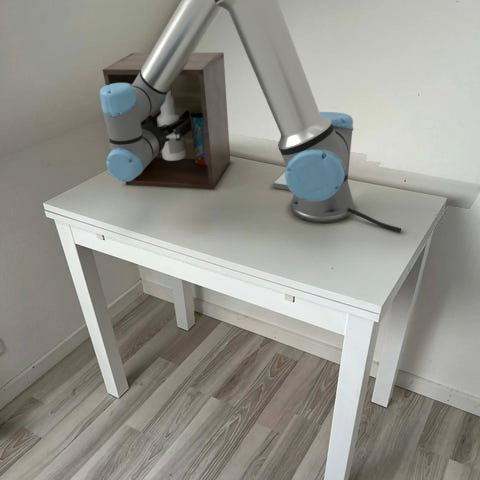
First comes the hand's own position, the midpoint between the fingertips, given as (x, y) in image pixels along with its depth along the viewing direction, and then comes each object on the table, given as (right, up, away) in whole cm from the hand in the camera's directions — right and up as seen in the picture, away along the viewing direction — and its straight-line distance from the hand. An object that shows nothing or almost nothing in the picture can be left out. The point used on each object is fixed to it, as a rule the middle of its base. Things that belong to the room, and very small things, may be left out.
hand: (175, 115), depth 138 cm
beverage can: (+7, -4, +7) cm, 11 cm away
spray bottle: (-1, -11, +3) cm, 11 cm away
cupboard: (0, -14, +7) cm, 16 cm away
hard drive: (+34, -19, 0) cm, 39 cm away
